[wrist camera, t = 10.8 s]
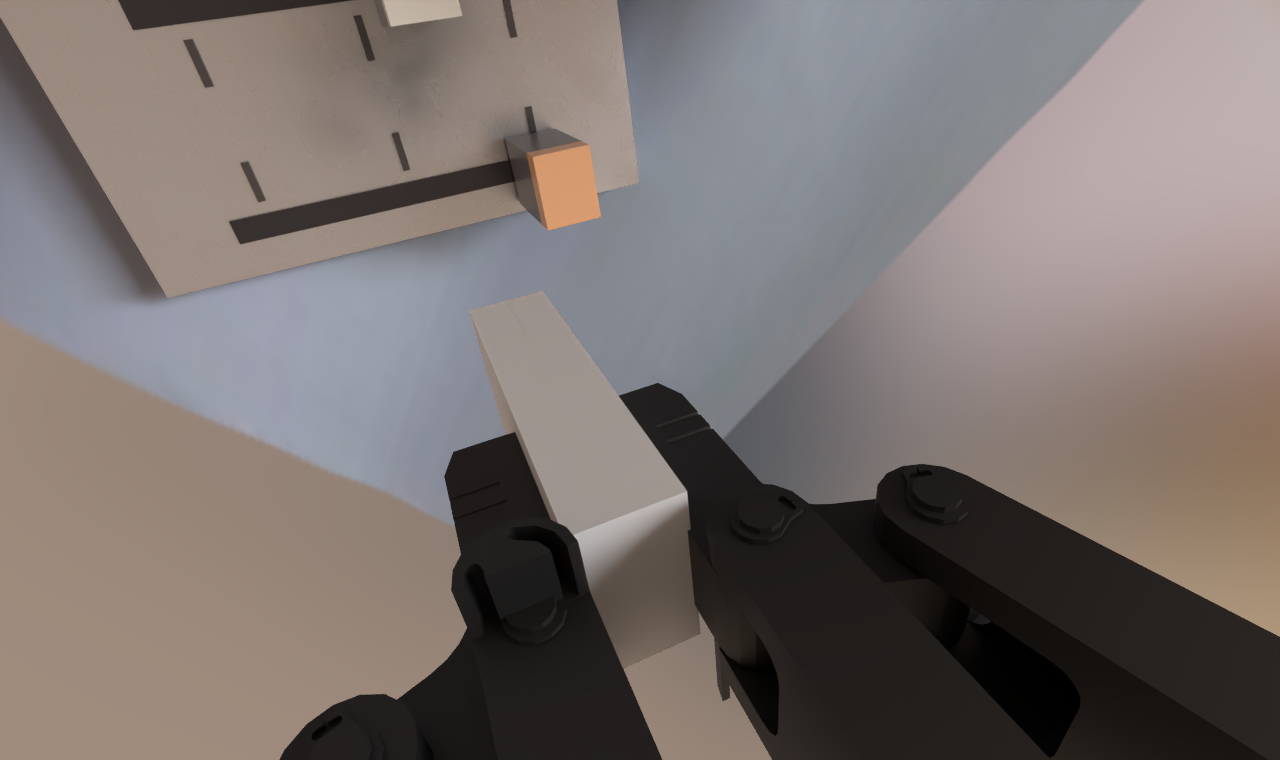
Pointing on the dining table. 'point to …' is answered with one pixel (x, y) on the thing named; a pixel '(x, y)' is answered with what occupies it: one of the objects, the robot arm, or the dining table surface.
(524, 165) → the fader far
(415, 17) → the fader near
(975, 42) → the dining table surface
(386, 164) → the console
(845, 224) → the dining table surface
